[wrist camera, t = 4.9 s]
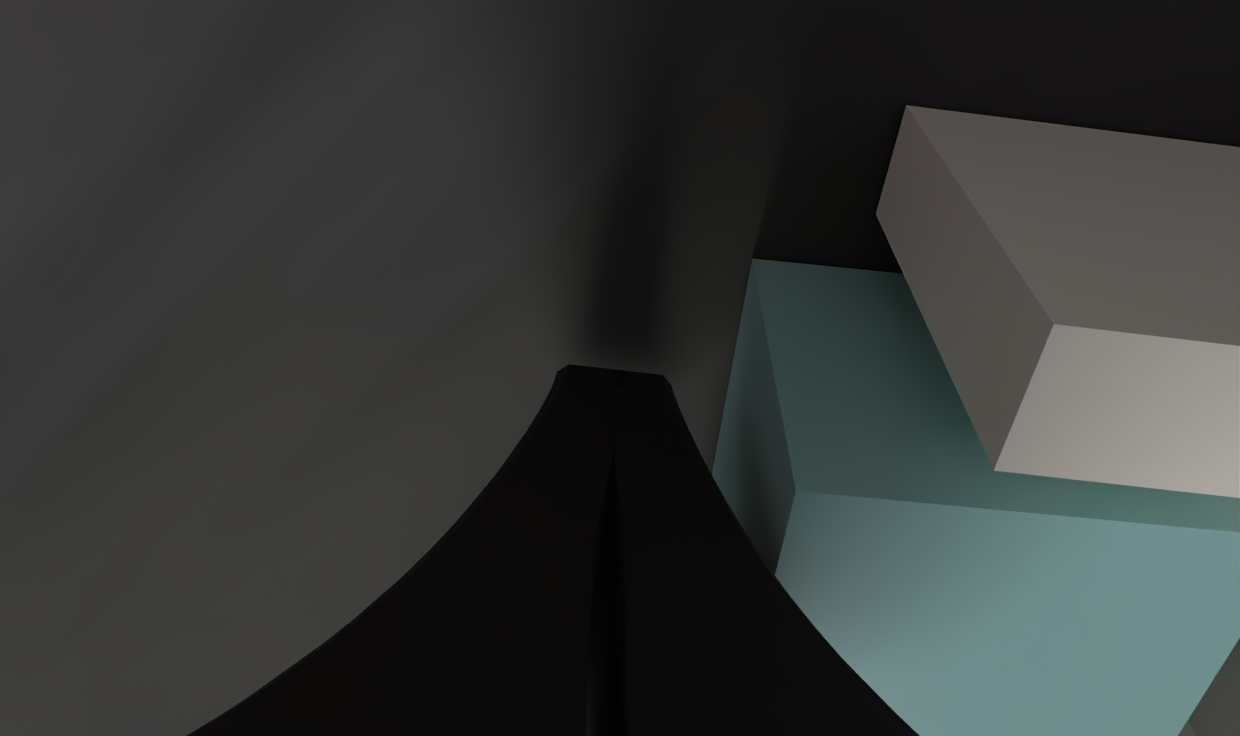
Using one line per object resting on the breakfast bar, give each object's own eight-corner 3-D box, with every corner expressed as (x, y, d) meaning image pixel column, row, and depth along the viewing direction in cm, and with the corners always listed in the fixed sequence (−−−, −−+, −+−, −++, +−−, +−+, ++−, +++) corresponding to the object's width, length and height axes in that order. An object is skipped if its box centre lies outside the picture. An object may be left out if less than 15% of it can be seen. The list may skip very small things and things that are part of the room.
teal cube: (702, 528, 13) (718, 802, 10) (752, 258, 11) (795, 491, 8) (1001, 555, 13) (1120, 836, 10) (1110, 294, 11) (1307, 539, 8)
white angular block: (750, 663, 15) (795, 1098, 10) (922, 44, 10) (1167, 330, 5) (1160, 705, 15) (1391, 1149, 10) (1529, 122, 10) (2291, 464, 5)
